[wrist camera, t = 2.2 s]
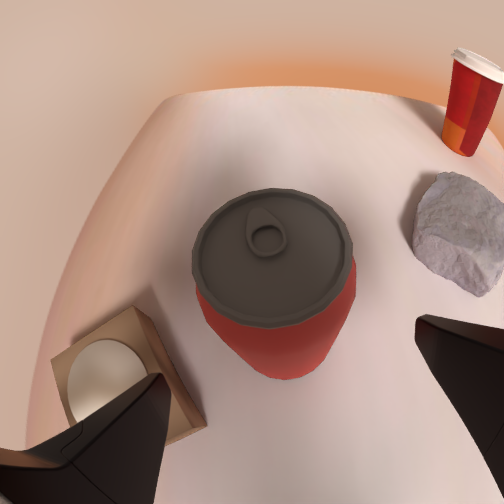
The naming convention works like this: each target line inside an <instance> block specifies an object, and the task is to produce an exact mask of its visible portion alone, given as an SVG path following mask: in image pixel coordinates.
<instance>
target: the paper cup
mask: <svg viewBox="0 0 504 504" xmlns="http://www.w3.org/2000/svg"><path fill="white" fill-rule="evenodd" d="M454 52H455V53H453V54H451V56H452V57H453V58H454V62H453V71H452V80H451V86H450V93H449V99H448V105H447V110H446V116H445V121H444V126H443V131H442V140H443V142H444V143H445V144H446V146H448V147H449V148H450V149H451V150H453V151H454V152H456V153H458V154H460V155H462V156H466V157H470V156H473V154H474V153H475V151H476V149H477V147H478V145H479V143H480V141H481V139H482V137H483V134H484V132H485V130H486V128H487V126H488V124H489V121H490V119H491V116H492V114H493V111H494V108H495V105H496V103H497V100H498V97H499V94H500V91H501V89H502V85H503V84H504V72H503V71H502V70H501V68H500V67H499V66H497V65H496V64H494V63H493V62H491V61H490V60H488V59H486V58H484V57H482V56H480V55H478V54H476V53H474V52H472V51H469V50H466V49H463V48H457V50H454Z"/></svg>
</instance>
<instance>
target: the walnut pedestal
mask: <svg viewBox="0 0 504 504" xmlns="http://www.w3.org/2000/svg"><path fill="white" fill-rule="evenodd" d="M51 364H52V368H53V372H54V376H55V380H56V384H57V387H58V391H59V394H60V398H61V401H62V404H63V407H64V410H65V413H66V416H67V419H68V422H69V425H70V427H72V426H73V425H75V424H77V423H78V422H80V421H81V420H84V418H86V417H87V416H89V415H90V414H92V413H93V412H95V411H96V410H98V409H99V408H101V407H102V406H104V405H105V404H107V403H108V402H110V401H111V400H113V399H114V398H116V397H117V396H118V395H120V394H121V393H123V392H124V391H126V390H127V389H129V388H130V387H131V386H133V385H134V384H136V383H137V382H139V381H140V380H141V379H143V378H144V377H146V376H147V375H148V374H150V373H156V372H161V373H162V374H163V375H164V377H165V379H166V381H167V383H168V385H169V387H170V389H171V393H172V397H171V407H170V417H169V427H168V433H167V438H166V442H165V446H167V445H169V444H171V443H173V442H176V441H178V440H180V439H182V438H184V437H186V436H188V435H190V434H192V433H194V432H196V431H198V430H200V429H202V428H204V427H206V426H207V424H206V423H205V421H204V419H203V418H202V416H201V415H200V413H199V411H198V410H197V408H196V406H195V404H194V403H193V401H192V399H191V397H190V396H189V394H188V392H187V390H186V389H185V387H184V385H183V383H182V381H181V379H180V378H179V376H178V374H177V372H176V370H175V368H174V366H173V364H172V362H171V360H170V358H169V356H168V354H167V352H166V350H165V348H164V346H163V344H162V342H161V340H160V338H159V335H158V333H157V331H156V329H155V327H154V324H153V322H152V320H151V318H149V317H148V316H147V315H145V314H144V313H143V312H141V311H140V310H139V309H137V308H136V307H135V306H133V305H132V306H131V307H129V308H128V309H126V310H125V311H123V312H122V313H120V314H119V315H117V316H115V317H114V318H112V319H111V320H109V321H108V322H106V323H105V324H103V325H102V326H100V327H99V328H97V329H96V330H94V331H93V332H91V333H90V334H88V335H87V336H85V337H84V338H82V339H81V340H79V341H78V342H76V343H75V344H73V345H72V346H70V347H69V348H67V349H66V350H64V351H63V352H61V353H60V354H59V355H57V356H56V357H54V358H53V359H51Z"/></svg>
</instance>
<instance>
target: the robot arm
mask: <svg viewBox="0 0 504 504" xmlns="http://www.w3.org/2000/svg"><path fill="white" fill-rule="evenodd" d="M415 342H416V345H417V346H418V348H419V350H420V352H421V354H422V356H423V357H424V359H425V361H426V363H427V365H428V367H429V369H430V371H431V372H432V374H433V376H434V377H435V379H436V380H437V382H438V383H439V385H440V386H441V388H442V389H443V391H444V392H445V394H446V395H447V397H448V398H449V400H450V401H451V403H452V405H453V406H454V408H455V409H456V411H457V413H458V414H459V416H460V417H461V419H462V421H463V422H464V424H465V426H466V427H467V429H468V431H469V432H470V434H471V436H472V438H473V439H474V441H475V443H476V445H477V446H478V448H479V450H480V452H481V454H482V456H484V460H485V462H486V463H487V465H488V467H489V469H490V471H491V473H492V475H493V477H494V479H495V481H496V483H497V485H498V488H499V490H500V492H501V494H502V496H503V498H504V329H500V328H495V327H489V326H484V325H479V324H473V323H468V322H463V321H458V320H453V319H448V318H443V317H438V316H433V315H428V314H425V315H423V316H420V317H418V318H417V319H416V323H415ZM171 397H172V393H171V389H170V387H169V385H168V383H167V381H166V379H165V377H164V375H163V374H162V373H161V372H156V373H150V374H148V375H147V376H146V377H144V378H143V379H141V380H140V381H139V382H137V383H136V384H134V385H133V386H131V387H130V388H129V389H127V390H126V391H124V392H123V393H121V394H120V395H118V396H117V397H116V398H114V399H113V400H111V401H110V402H108V403H107V404H105V405H104V406H102V407H101V408H99V409H98V410H96V411H95V412H93V413H92V414H90V415H89V416H87V417H86V418H84V420H81V421H80V422H78V423H77V424H75V425H73V426H72V427H70V428H69V429H67V430H65V431H64V432H62V433H60V434H58V435H56V436H54V437H52V438H51V439H49V440H47V441H45V442H43V443H41V444H39V445H37V446H35V447H33V448H30V449H28V450H23V451H14V450H8V449H3V448H0V504H153V503H154V497H155V492H156V487H157V481H158V476H159V471H160V466H161V461H162V457H163V452H164V447H165V442H166V438H167V433H168V427H169V417H170V407H171Z"/></svg>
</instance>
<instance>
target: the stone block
mask: <svg viewBox="0 0 504 504" xmlns="http://www.w3.org/2000/svg"><path fill="white" fill-rule="evenodd" d="M412 248H413V252H414V256H415V257H416V258H417V259H418V260H419V261H421V262H422V263H423V264H424V265H425V266H426V267H427V268H428V269H429V270H431V271H432V272H433V273H434V274H437V275H440V276H442V277H444V278H445V279H448V280H452V281H453V282H455V283H456V284H457V285H458V286H460V287H461V288H462V289H464V290H467V291H469V292H471V293H473V294H474V295H475V296H477V297H481V296H484V295H485V294H486V293H487V292H489V291H490V290H491V289H492V288H493V286H494V285H496V284H497V281H498V280H499V278H500V277H501V275H502V272H503V267H504V203H502V202H501V201H500V200H499V199H498V198H497V197H496V196H495V195H494V194H493V193H491V192H490V191H488V190H487V189H486V188H485V187H484V186H482V185H481V184H479V183H478V182H476V181H474V180H473V179H471V178H470V177H466V176H463V175H460V174H457V173H455V172H450V173H447V172H443V173H440V174H438V175H437V177H436V179H435V182H434V183H433V184H432V185H431V186H430V187H429V189H428V190H427V191H426V192H425V194H424V195H423V197H422V199H421V200H420V202H419V204H418V205H417V212H416V215H415V219H414V223H413V235H412Z"/></svg>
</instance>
